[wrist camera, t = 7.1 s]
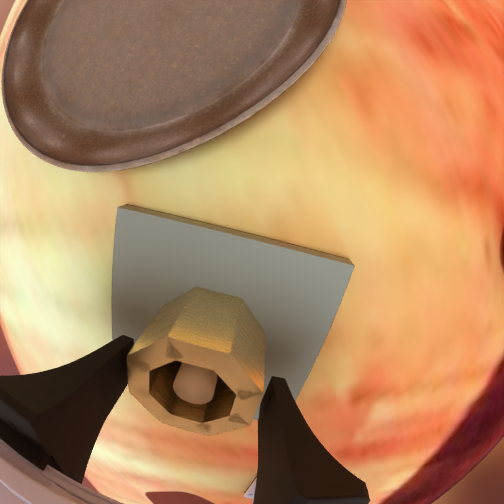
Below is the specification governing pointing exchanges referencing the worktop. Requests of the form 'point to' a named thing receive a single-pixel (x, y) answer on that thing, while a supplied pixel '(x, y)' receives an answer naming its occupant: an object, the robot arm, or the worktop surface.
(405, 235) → the worktop surface
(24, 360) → the worktop surface
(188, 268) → the post plate
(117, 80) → the plant saucer
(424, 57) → the worktop surface
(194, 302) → the collar
